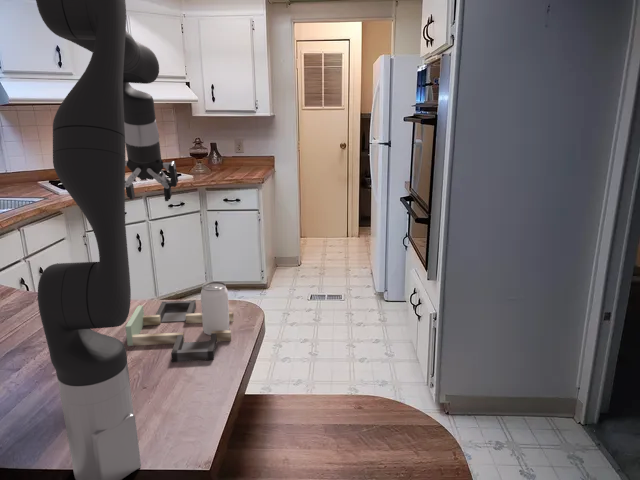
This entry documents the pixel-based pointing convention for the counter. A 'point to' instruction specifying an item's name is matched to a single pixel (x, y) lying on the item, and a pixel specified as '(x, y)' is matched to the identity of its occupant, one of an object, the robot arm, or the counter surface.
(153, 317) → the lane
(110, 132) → the robot arm
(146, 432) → the counter surface
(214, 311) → the can
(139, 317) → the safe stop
